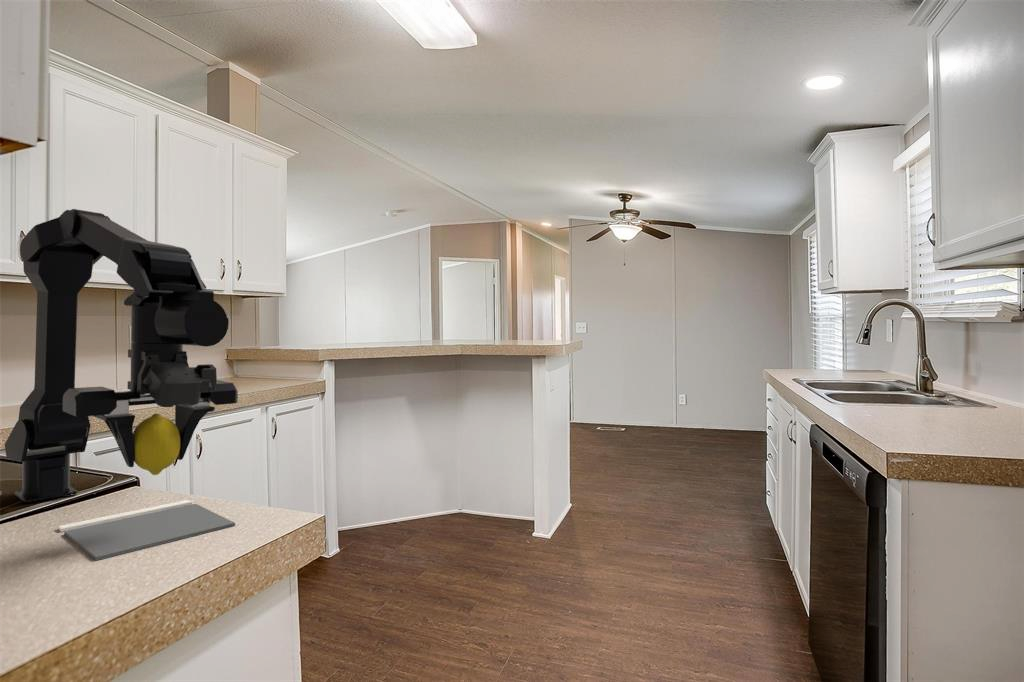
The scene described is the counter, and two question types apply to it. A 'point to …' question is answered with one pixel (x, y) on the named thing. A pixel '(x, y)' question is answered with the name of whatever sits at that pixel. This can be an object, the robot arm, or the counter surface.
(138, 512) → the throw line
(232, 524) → the mat
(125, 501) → the counter surface
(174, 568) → the counter surface
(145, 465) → the lemon
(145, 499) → the counter surface
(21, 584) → the counter surface
